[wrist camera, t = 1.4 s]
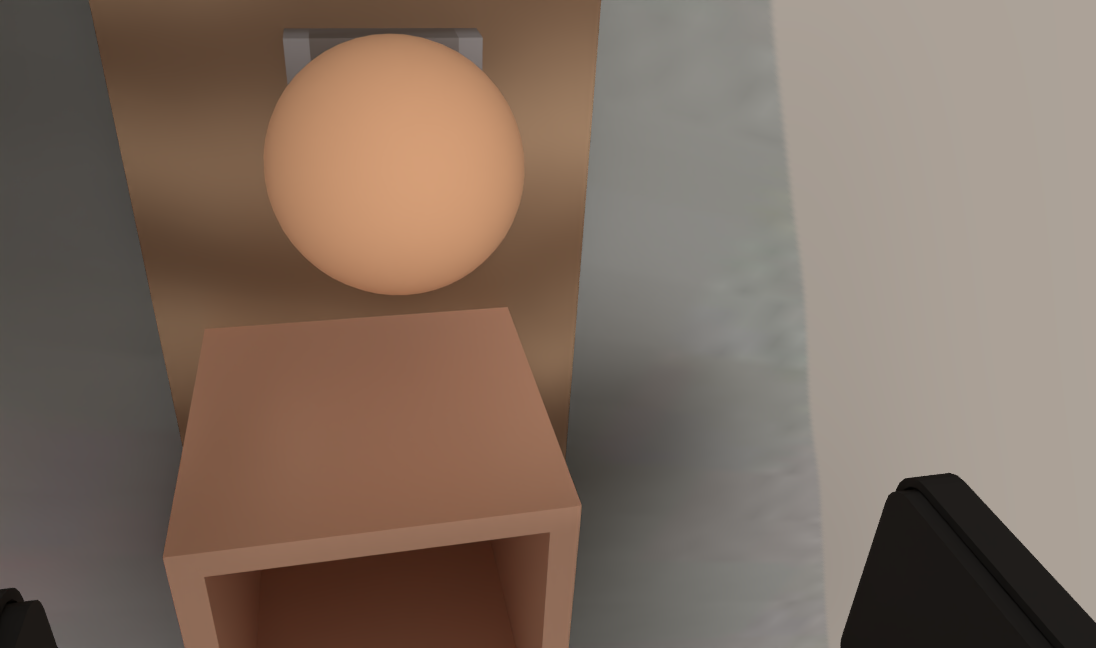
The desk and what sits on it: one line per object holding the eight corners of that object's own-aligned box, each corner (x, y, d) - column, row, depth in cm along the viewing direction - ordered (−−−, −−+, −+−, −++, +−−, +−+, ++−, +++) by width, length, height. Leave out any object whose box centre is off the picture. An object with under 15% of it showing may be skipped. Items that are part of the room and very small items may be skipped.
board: (90, -52, 21) (70, -36, 19) (591, -45, 24) (614, -29, 22) (245, 710, 36) (242, 760, 34) (541, 662, 39) (553, 706, 37)
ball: (254, 6, 21) (237, 79, 16) (502, 7, 22) (558, 74, 17) (281, 235, 24) (274, 354, 19) (498, 223, 25) (543, 333, 21)
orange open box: (205, 329, 26) (162, 557, 18) (507, 306, 28) (581, 505, 20) (244, 550, 30) (223, 805, 23) (501, 518, 32) (559, 743, 25)
